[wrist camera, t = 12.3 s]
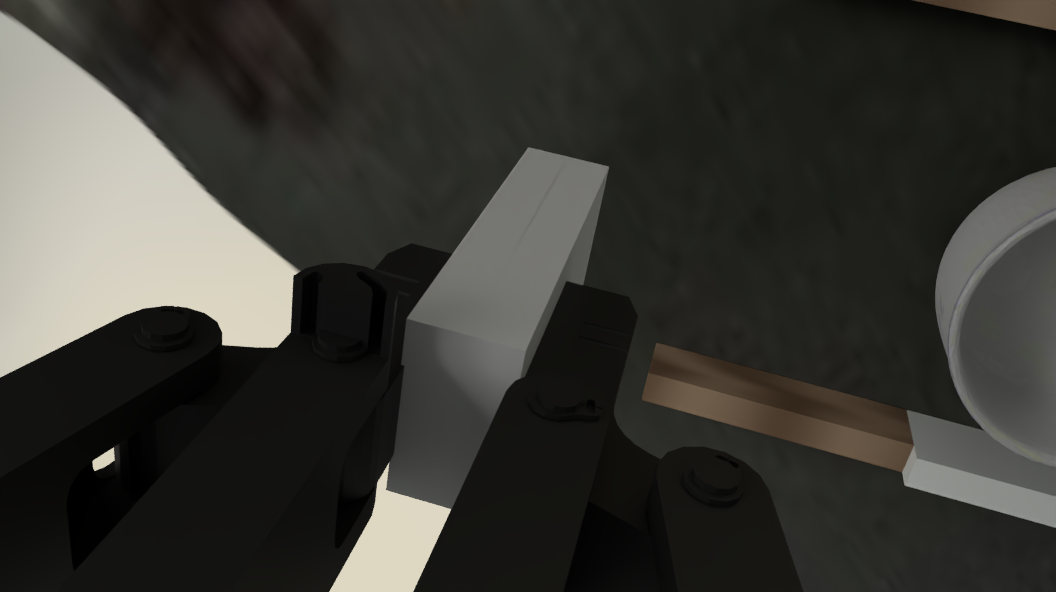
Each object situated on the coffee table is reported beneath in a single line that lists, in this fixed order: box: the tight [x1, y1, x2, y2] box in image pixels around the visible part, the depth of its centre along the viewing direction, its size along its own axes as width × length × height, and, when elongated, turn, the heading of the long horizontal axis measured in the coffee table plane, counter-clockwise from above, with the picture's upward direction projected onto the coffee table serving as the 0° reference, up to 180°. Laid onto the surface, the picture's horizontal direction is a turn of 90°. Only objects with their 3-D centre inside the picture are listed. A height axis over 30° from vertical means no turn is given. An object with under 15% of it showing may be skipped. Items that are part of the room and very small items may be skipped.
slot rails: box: [642, 0, 1056, 472], centre depth 40 cm, size 12×21×3 cm, turn 171°
